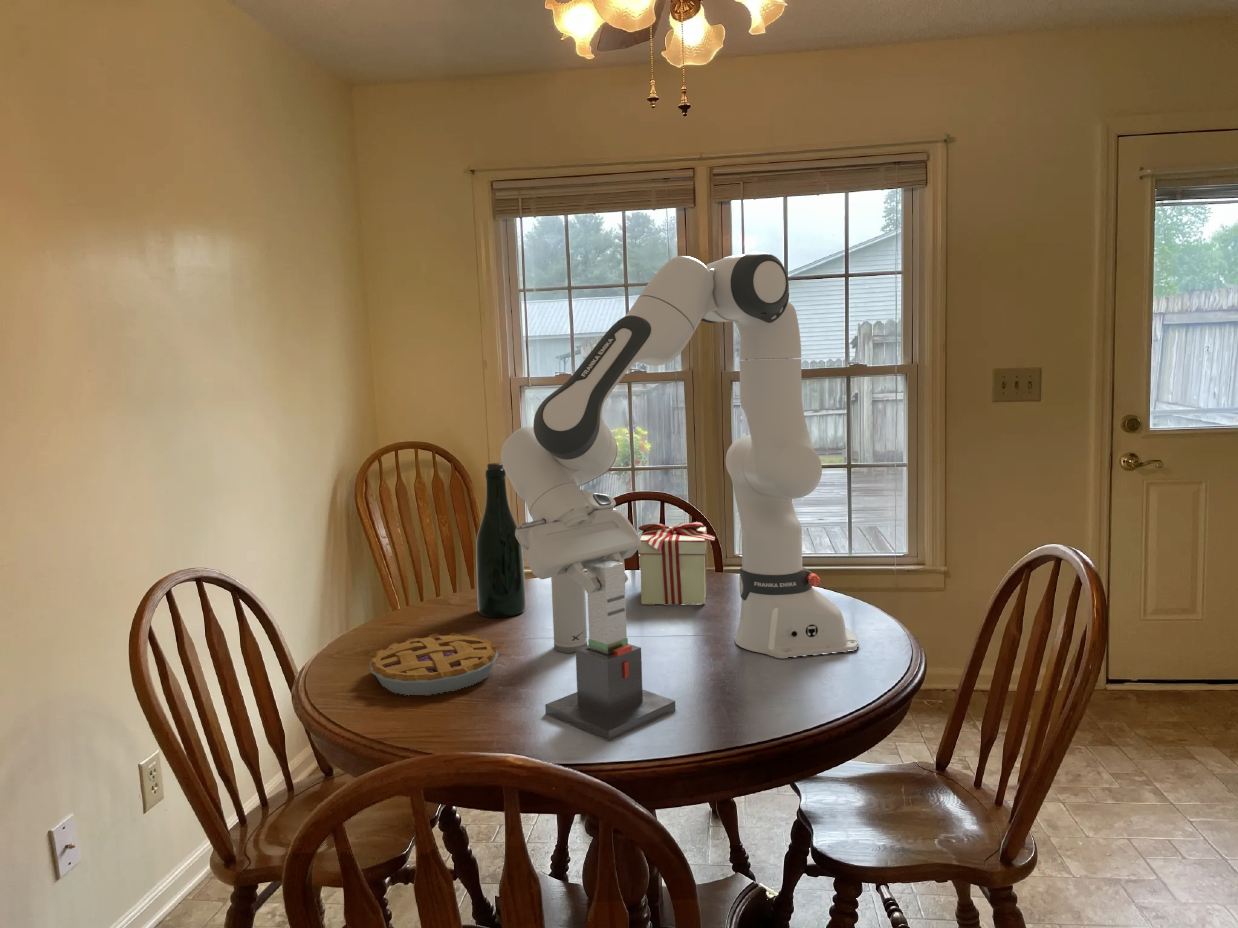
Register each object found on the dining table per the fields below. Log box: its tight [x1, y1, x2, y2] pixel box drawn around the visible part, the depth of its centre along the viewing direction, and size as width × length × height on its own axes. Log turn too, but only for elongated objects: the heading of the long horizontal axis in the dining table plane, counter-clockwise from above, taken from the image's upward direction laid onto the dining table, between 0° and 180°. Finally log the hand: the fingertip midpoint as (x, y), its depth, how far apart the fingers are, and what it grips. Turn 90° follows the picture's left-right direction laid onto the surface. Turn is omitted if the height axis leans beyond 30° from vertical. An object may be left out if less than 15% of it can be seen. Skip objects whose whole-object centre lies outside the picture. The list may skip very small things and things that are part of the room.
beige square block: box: [586, 560, 629, 657], centre depth 122 cm, size 4×4×17 cm
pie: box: [369, 632, 499, 697], centre depth 142 cm, size 22×22×5 cm
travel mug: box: [550, 569, 588, 654], centre depth 153 cm, size 6×7×20 cm
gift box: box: [638, 521, 716, 606], centre depth 184 cm, size 17×18×17 cm
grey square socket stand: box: [544, 643, 677, 742], centre depth 123 cm, size 14×14×11 cm
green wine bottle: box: [475, 462, 527, 619], centre depth 177 cm, size 10×10×33 cm
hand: (609, 586), depth 121 cm, fingers open, 4 cm apart
